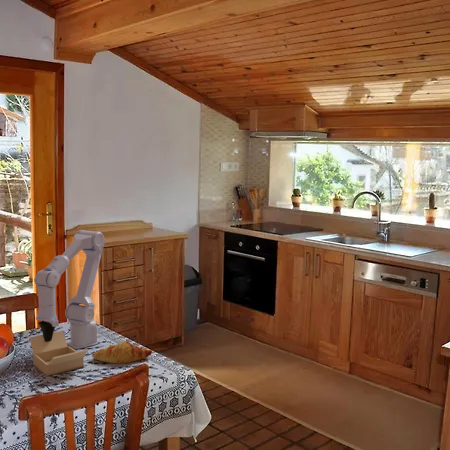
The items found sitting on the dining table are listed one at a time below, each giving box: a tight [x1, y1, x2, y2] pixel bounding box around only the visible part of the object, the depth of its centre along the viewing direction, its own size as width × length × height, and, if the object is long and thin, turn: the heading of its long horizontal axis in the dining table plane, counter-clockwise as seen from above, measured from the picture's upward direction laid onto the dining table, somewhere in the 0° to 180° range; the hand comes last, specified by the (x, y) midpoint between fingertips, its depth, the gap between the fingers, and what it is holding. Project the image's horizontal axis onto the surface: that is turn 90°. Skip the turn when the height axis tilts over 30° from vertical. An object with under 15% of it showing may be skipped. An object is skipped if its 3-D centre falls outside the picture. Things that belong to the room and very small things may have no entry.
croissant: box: [91, 340, 153, 364], centre depth 196 cm, size 21×10×8 cm, turn 98°
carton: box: [32, 345, 85, 377], centre depth 189 cm, size 13×12×4 cm
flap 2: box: [48, 348, 89, 366], centre depth 182 cm, size 12×6×1 cm
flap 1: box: [29, 330, 68, 355], centre depth 194 cm, size 12×6×1 cm
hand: (48, 341), depth 194 cm, fingers closed
